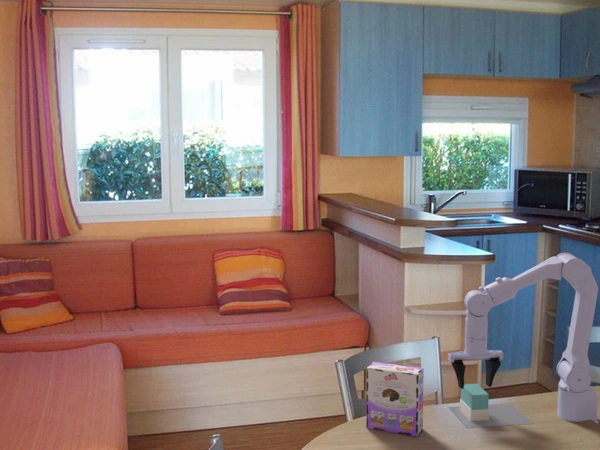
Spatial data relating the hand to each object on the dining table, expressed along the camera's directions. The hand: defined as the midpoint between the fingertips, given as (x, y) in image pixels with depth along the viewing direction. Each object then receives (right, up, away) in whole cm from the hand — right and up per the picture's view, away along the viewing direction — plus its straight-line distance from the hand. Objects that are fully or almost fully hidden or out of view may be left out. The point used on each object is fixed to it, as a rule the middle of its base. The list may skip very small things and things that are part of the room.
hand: (474, 386), depth 195 cm
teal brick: (0, -5, +1) cm, 5 cm away
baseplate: (+4, -9, +1) cm, 10 cm away
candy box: (-22, -10, -5) cm, 25 cm away
